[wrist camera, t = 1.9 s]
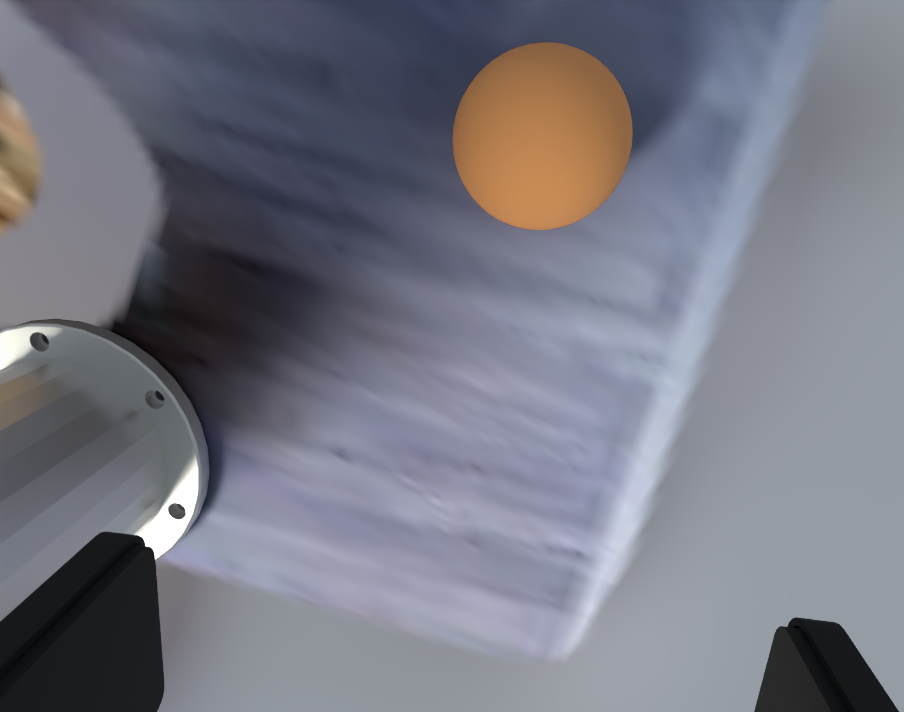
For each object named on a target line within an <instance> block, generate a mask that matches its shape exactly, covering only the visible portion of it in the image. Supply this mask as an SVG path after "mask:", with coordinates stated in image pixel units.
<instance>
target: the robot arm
mask: <svg viewBox="0 0 904 712" xmlns="http://www.w3.org/2000/svg"><path fill="white" fill-rule="evenodd" d="M209 473H210V470H209V457H208V447H207V443H206V440H205V436H204V433H203V429H202V426H201V423H200V421H199V419H198V417H197V415H196V412H195V410H194V408H193V406H192V404H191V402H190V400H189V399H188V397H187V396H186V395H185V393H184V392H183V390H182V389H181V387H180V386H179V385H178V383H177V382H176V380H175V379H174V378H173V377H172V376H171V375H170V374H169V373H168V372H167V371H166V370H165V369H164V368H163V367H162V366H161V365H160V364H159V363H158V362H157V361H156V360H155V359H154V358H153V357H152V356H150V355H149V354H148V353H146V352H145V351H143V350H142V349H141V348H139V347H138V346H137V345H135V344H134V343H132V342H131V341H129V340H127V339H125V338H123V337H121V336H119V335H117V334H115V333H113V332H111V331H109V330H107V329H103V328H100V327H97V326H94V325H90V324H87V323H84V322H79V321H70V320H61V319H49V320H36V321H29V322H26V323H23V324H19V325H16V326H12V327H9V328H6V329H4V330H1V331H0V712H157V710H158V709H159V706H160V703H161V701H162V697H163V693H164V673H163V660H162V646H161V632H160V620H159V606H158V592H157V579H156V578H157V577H156V564H155V561H156V560H158V559H159V558H160V557H162V556H163V555H164V554H166V553H167V552H168V551H170V550H171V549H172V548H173V547H174V546H175V545H176V544H177V543H178V542H179V541H180V540H181V539H182V538H183V536H184V535H185V534H186V533H187V532H188V531H189V529H190V528H191V526H192V525H193V523H194V522H195V520H196V519H197V517H198V515H199V514H200V511H201V509H202V506H203V503H204V500H205V497H206V495H207V489H208V481H209ZM755 712H899V711H898V710H897V708H896V707H895V705H894V704H893V702H892V701H891V699H890V698H889V696H888V695H887V693H886V692H885V690H884V689H883V687H882V686H881V684H880V683H879V681H878V680H877V678H876V677H875V675H874V674H873V672H872V671H871V669H870V668H869V666H868V665H867V663H866V662H865V660H864V659H863V657H862V656H861V654H860V653H859V651H858V650H857V648H856V647H855V645H854V644H853V642H852V641H851V639H850V638H849V636H848V635H847V633H846V632H845V630H844V629H843V628H842V627H841V626H840V625H839V624H837V623H835V622H828V621H819V620H812V619H804V618H793V619H792V620H791V621H790V622H789V624H788V627H782V626H781V627H779V628H778V629H777V630H776V632H775V635H774V639H773V643H772V646H771V650H770V654H769V658H768V662H767V665H766V669H765V673H764V677H763V681H762V685H761V688H760V692H759V696H758V700H757V704H756V707H755Z"/></svg>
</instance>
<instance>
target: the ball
mask: <svg viewBox="0 0 904 712" xmlns="http://www.w3.org/2000/svg"><path fill="white" fill-rule="evenodd" d="M632 138H633V127H632V117H631V112H630V107H629V104H628V101H627V98H626V96H625V94H624V91H623V89H622V87H621V85H620V84H619V82H618V81H617V79H616V78H615V76H614V75H613V74H612V73H611V72H610V70H609V69H608V68H607V67H606V66H605V65H604V64H602V63H601V62H600V61H599V60H598V59H597V58H595V57H593V56H592V55H590V54H589V53H587V52H585V51H583V50H581V49H578V48H576V47H573V46H569V45H566V44H561V43H553V42H539V43H532V44H526V45H523V46H520V47H516V48H514V49H512V50H509V51H507V52H505V53H503V54H502V55H500V56H498V57H497V58H495V59H494V60H492V61H491V62H490V63H489V64H488V65H486V66H485V67H484V68H483V69H482V70H481V71H480V72H479V73H478V74H477V75H476V76H475V78H474V79H473V81H472V82H471V83H470V85H469V86H468V88H467V90H466V91H465V93H464V95H463V97H462V99H461V102H460V104H459V107H458V109H457V113H456V117H455V121H454V128H453V152H454V159H455V163H456V167H457V170H458V173H459V175H460V178H461V180H462V182H463V184H464V186H465V188H466V189H467V191H468V192H469V194H470V195H471V196H472V198H473V199H474V200H475V201H476V202H477V203H478V204H479V206H480V207H481V208H483V209H484V210H485V211H486V212H488V213H489V214H490V215H492V216H493V217H495V218H497V219H498V220H500V221H502V222H504V223H507V224H509V225H512V226H515V227H519V228H523V229H530V230H547V229H555V228H559V227H563V226H567V225H569V224H572V223H574V222H577V221H579V220H581V219H582V218H584V217H586V216H588V215H589V214H590V213H592V212H593V211H595V210H596V209H597V208H598V207H599V206H600V205H601V204H603V203H604V202H605V201H606V200H607V198H608V197H609V196H610V195H611V194H612V192H613V191H614V190H615V188H616V186H617V185H618V183H619V182H620V180H621V178H622V176H623V174H624V172H625V170H626V167H627V164H628V161H629V157H630V153H631V148H632Z"/></svg>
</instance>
